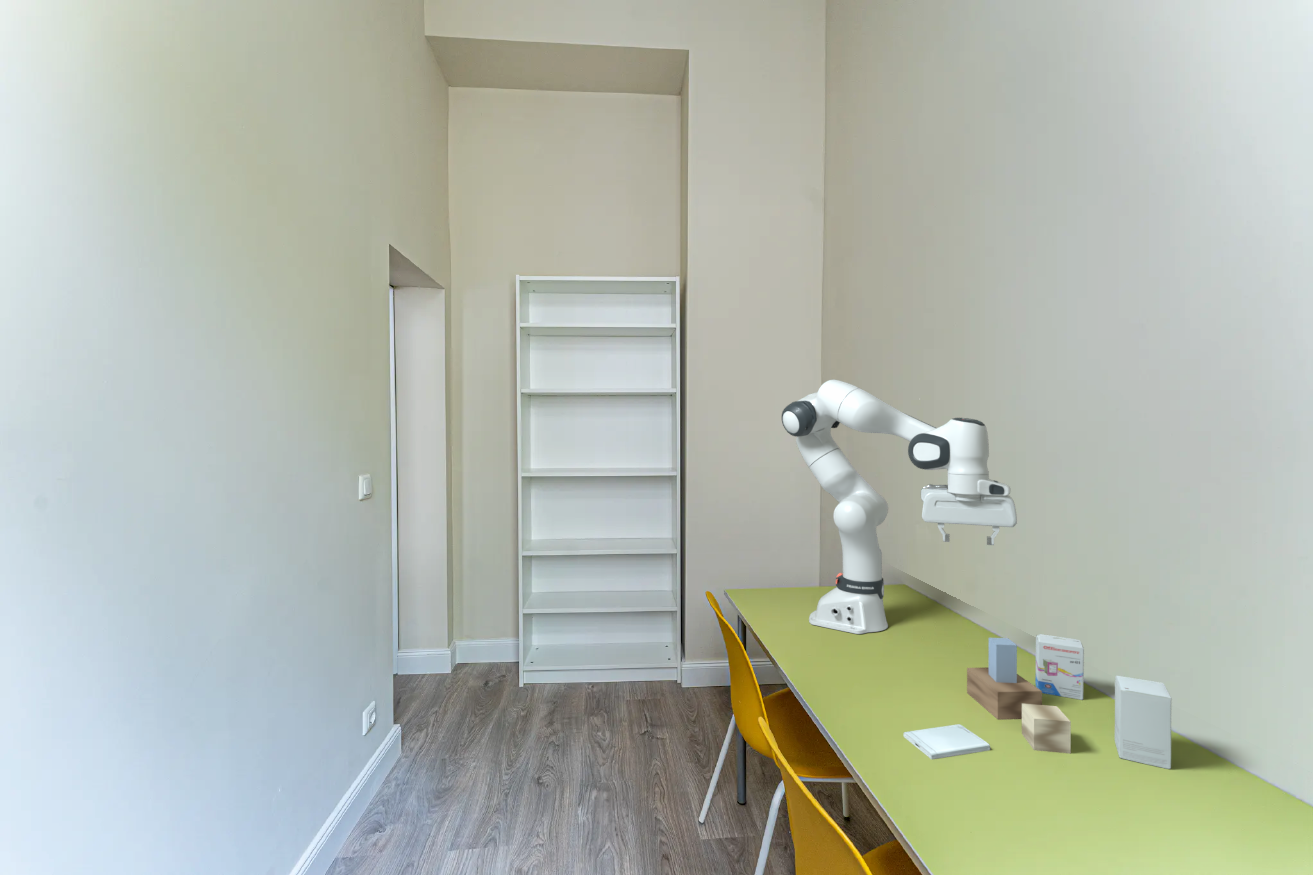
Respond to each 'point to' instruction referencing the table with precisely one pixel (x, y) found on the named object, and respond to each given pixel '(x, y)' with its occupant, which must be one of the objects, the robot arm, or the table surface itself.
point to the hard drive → (946, 741)
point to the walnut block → (1001, 694)
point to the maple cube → (1046, 728)
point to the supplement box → (1143, 721)
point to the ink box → (1059, 666)
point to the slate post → (1003, 660)
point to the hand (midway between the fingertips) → (967, 543)
